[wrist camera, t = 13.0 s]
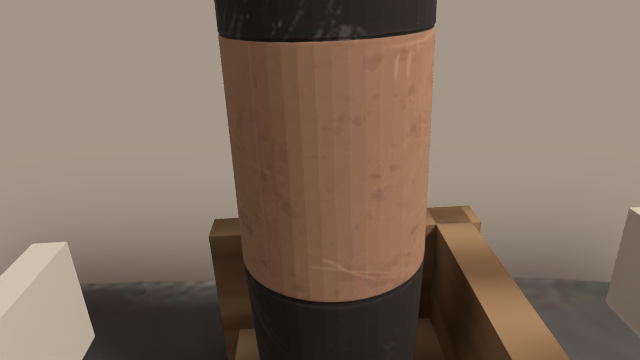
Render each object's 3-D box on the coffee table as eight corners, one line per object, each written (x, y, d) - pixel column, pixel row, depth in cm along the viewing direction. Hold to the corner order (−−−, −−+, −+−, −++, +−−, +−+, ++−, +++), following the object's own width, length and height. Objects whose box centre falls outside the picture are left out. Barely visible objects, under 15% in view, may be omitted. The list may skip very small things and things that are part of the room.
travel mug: (237, 447, 21) (157, -48, 13) (287, 330, 28) (256, -41, 20) (410, 483, 19) (443, -65, 11) (418, 349, 26) (442, -51, 18)
